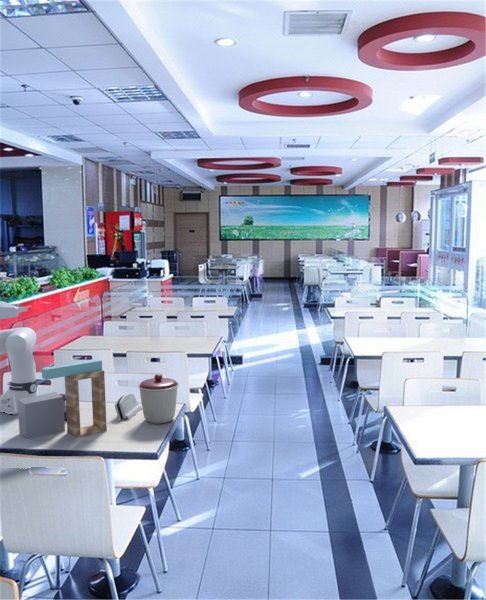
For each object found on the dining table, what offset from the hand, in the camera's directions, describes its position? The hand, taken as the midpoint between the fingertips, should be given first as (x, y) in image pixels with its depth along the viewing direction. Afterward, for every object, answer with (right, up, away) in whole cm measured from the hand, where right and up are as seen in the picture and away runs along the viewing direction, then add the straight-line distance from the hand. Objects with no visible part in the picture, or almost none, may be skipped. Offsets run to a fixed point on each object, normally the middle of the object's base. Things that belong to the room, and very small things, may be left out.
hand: (23, 307), depth 226 cm
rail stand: (+24, -53, +7) cm, 59 cm away
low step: (+5, -53, +7) cm, 54 cm away
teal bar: (+20, -27, +1) cm, 34 cm away
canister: (+53, -51, +22) cm, 77 cm away
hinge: (+37, -50, +31) cm, 69 cm away
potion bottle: (+9, -51, +23) cm, 57 cm away
